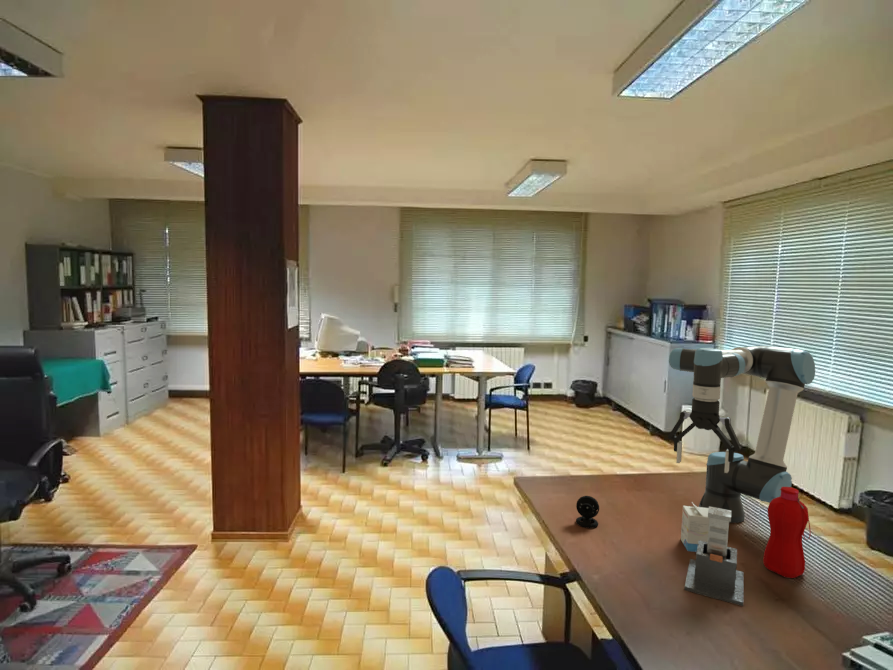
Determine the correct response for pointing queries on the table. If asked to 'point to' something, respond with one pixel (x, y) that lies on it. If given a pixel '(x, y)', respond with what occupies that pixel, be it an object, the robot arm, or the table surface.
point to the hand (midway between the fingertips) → (702, 466)
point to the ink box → (694, 526)
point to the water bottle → (786, 534)
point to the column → (718, 531)
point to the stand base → (715, 575)
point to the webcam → (587, 511)
